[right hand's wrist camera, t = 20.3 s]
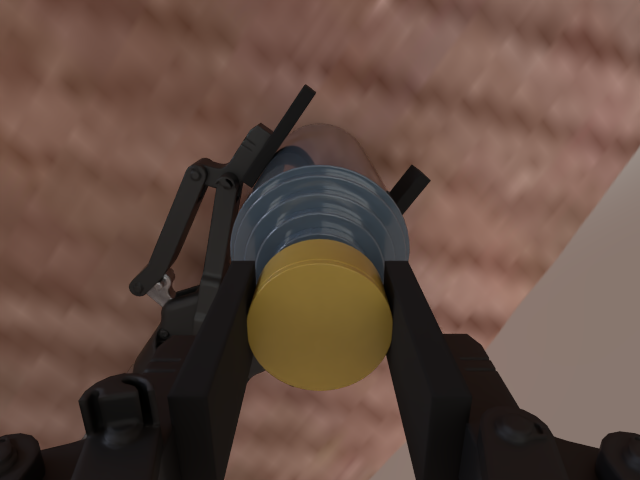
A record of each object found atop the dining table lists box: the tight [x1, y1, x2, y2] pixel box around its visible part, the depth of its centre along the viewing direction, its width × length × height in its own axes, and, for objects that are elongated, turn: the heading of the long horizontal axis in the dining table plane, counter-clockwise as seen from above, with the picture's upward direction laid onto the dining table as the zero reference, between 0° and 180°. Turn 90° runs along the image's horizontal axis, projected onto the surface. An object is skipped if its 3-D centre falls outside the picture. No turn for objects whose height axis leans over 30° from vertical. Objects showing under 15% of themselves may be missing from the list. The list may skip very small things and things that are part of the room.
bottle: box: [230, 124, 410, 285], centre depth 24 cm, size 8×8×22 cm
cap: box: [247, 239, 393, 391], centre depth 14 cm, size 4×4×2 cm
